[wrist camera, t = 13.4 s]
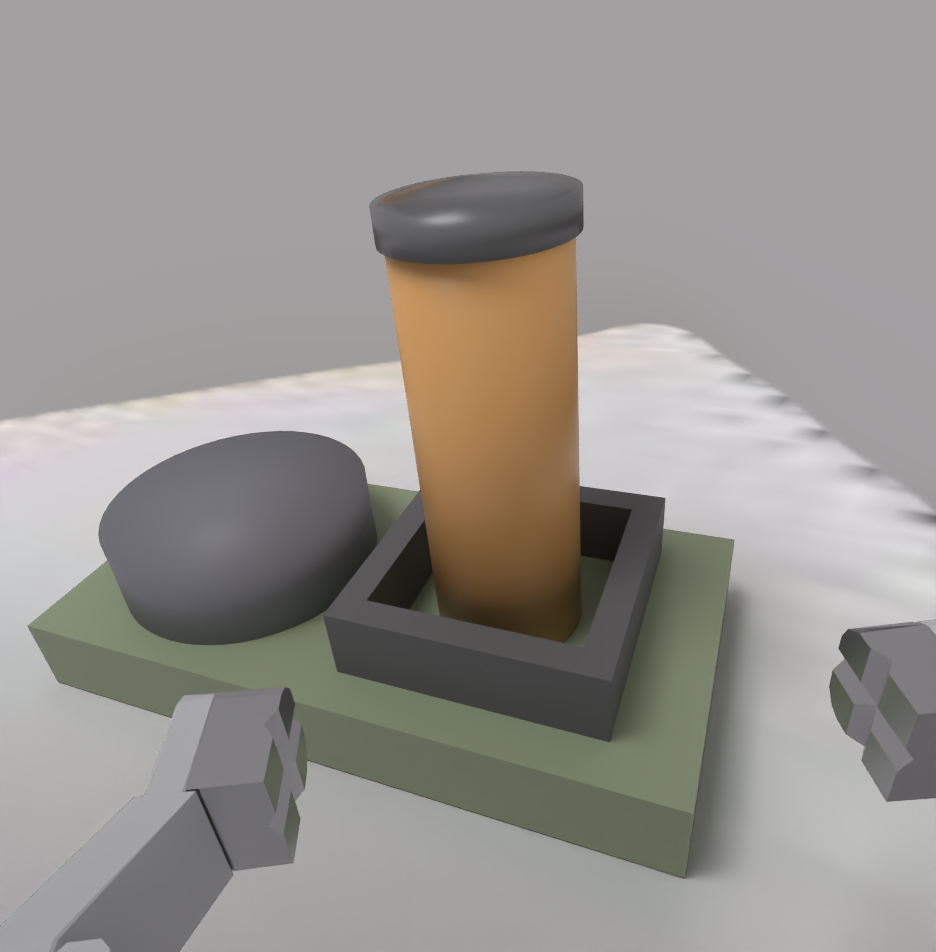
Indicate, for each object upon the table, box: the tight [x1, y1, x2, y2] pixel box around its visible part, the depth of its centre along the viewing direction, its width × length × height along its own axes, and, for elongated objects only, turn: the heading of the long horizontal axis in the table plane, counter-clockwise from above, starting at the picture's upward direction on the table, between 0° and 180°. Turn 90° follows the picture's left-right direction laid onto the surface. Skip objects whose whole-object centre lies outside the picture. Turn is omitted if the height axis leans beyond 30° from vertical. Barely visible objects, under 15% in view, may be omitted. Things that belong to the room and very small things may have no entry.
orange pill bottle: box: [369, 171, 583, 643], centre depth 22 cm, size 5×5×14 cm
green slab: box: [28, 431, 734, 878], centre depth 28 cm, size 24×12×6 cm, turn 69°
